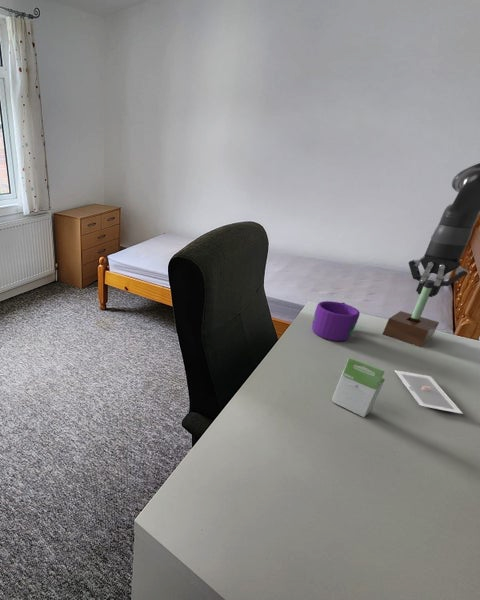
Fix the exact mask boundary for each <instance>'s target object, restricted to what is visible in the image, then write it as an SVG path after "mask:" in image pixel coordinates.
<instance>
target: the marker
mask: <svg viewBox="0 0 480 600" xmlns="http://www.w3.org/2000/svg"><path fill="white" fill-rule="evenodd" d="M435 282H436V280H432V279H428V280H426V282H425V284H424V287H423V289H422V292H421V294H419V297H418V299H417V301H416V304H415V307H414V309H413V312H412V313H411V314H412V316H411V319H412V320H413V321H418V320H419V319H420V317H422V314H423V312H424V310H425V307H426V305H427V302H428V300H429V298H430V297H429V294H430V292H431V290H432V288H433V286H434V285H435Z"/></svg>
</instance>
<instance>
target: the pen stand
mask: <svg viewBox="0 0 480 600" xmlns="http://www.w3.org/2000/svg"><path fill="white" fill-rule="evenodd" d="M412 314H413V313H409V312H406V311H402V310H400V311H398V312H396V313H395V314H393V315H392V316H390V317H389V318H388V319H387V322H386V325H385V327H384V329H383V332H382V335H383V336H386V337H390V338H393V339H396V340H398V339H399V340H398V341H401V340H402V341H401V342H404V343H407V344H409V345H413V344H414V345H413V346H416V347H418V346H419V348H422V347H423V346H424V345H426V344H427V343H428V342H429V341H430V340H431V339H432V338H433V336H434V334H435V332H436V330H437V328H438V326H439V324H440V322H439V321H436V320H433V319H430V318H427V317H422V316H421V317H420V319H419V320H418V321H413V320H412V319H411V316H412ZM428 340H429V341H428ZM427 341H428V342H427ZM421 346H422V347H421Z"/></svg>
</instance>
